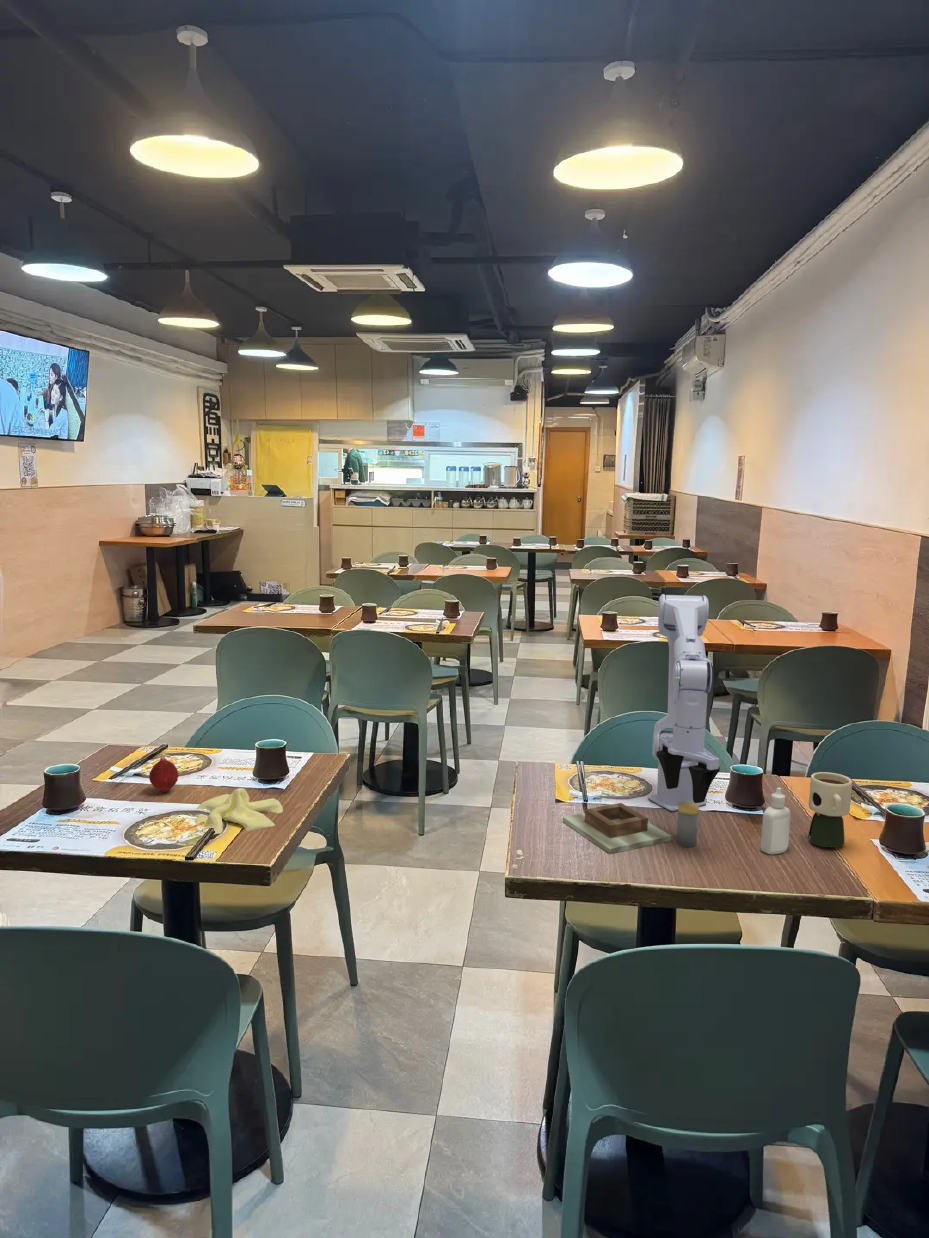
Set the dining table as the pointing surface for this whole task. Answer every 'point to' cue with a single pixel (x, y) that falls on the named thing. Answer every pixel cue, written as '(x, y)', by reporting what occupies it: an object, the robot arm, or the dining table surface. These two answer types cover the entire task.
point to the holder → (616, 828)
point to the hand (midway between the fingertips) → (685, 794)
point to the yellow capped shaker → (687, 824)
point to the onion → (163, 775)
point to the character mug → (829, 808)
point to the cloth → (238, 811)
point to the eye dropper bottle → (776, 825)
